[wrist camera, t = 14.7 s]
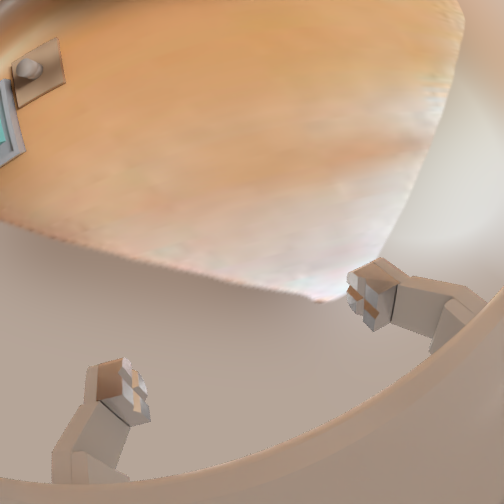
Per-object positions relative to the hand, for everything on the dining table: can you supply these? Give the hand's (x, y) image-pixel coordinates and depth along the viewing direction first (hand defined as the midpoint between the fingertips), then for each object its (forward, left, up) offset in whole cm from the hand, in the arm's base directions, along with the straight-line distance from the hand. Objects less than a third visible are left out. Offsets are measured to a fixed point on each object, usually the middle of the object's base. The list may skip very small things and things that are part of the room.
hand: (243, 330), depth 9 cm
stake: (-20, -14, -29) cm, 38 cm away
